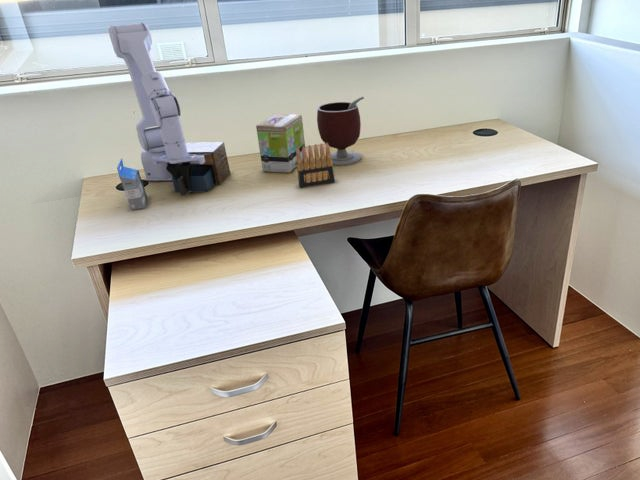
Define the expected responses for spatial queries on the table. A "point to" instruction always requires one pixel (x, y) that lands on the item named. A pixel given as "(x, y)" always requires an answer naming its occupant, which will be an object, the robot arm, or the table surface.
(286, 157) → the tea box
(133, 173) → the label tape box
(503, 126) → the table surface
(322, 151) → the ammunition clip
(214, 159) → the drawer pedestal
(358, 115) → the mate gourd
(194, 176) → the storage box
